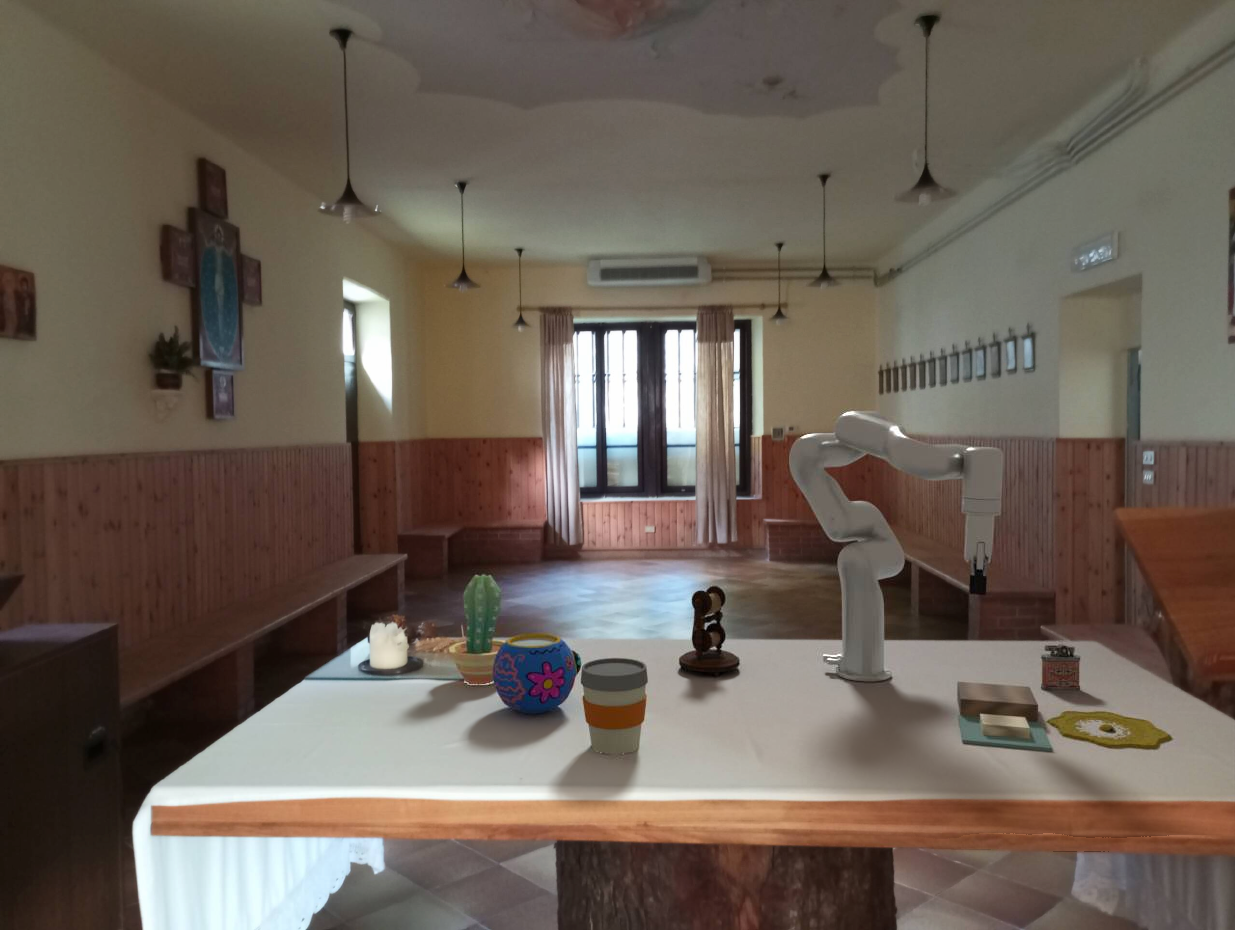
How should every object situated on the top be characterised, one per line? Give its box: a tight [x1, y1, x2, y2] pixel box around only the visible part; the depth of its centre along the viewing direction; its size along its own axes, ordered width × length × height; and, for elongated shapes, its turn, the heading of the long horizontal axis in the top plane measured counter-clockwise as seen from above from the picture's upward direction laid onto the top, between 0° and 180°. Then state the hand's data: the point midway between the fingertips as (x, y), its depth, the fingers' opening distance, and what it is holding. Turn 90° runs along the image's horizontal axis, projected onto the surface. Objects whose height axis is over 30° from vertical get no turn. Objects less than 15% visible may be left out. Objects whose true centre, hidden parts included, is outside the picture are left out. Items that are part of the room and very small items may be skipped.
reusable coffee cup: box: [580, 657, 649, 755], centre depth 160 cm, size 13×12×15 cm
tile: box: [980, 714, 1030, 739], centre depth 163 cm, size 8×6×2 cm
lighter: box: [1040, 643, 1081, 693], centre depth 189 cm, size 8×3×10 cm, turn 84°
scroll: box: [678, 585, 741, 678], centre depth 209 cm, size 15×15×20 cm
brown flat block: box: [956, 681, 1039, 722], centre depth 175 cm, size 14×12×4 cm
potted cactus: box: [448, 573, 507, 685], centre depth 203 cm, size 15×15×25 cm
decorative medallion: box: [1046, 710, 1173, 750], centre depth 164 cm, size 20×20×1 cm
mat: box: [957, 714, 1053, 752], centre depth 163 cm, size 15×14×1 cm
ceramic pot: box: [493, 633, 582, 714], centre depth 181 cm, size 18×18×15 cm
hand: (977, 593), depth 179 cm, fingers closed
